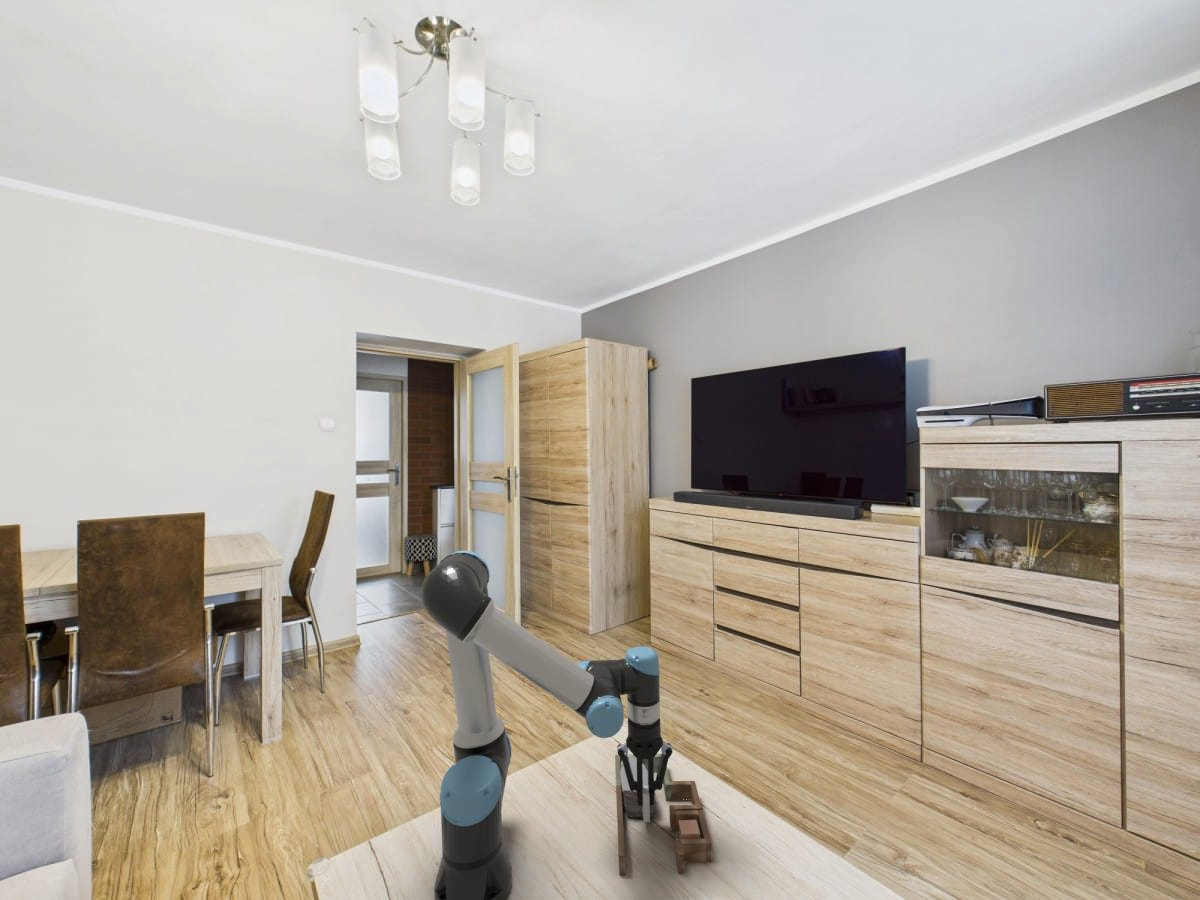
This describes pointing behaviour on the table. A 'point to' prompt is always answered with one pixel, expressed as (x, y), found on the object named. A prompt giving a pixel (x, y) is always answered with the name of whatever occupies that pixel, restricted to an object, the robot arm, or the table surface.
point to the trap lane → (671, 818)
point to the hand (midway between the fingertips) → (646, 817)
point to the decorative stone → (631, 796)
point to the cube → (688, 829)
